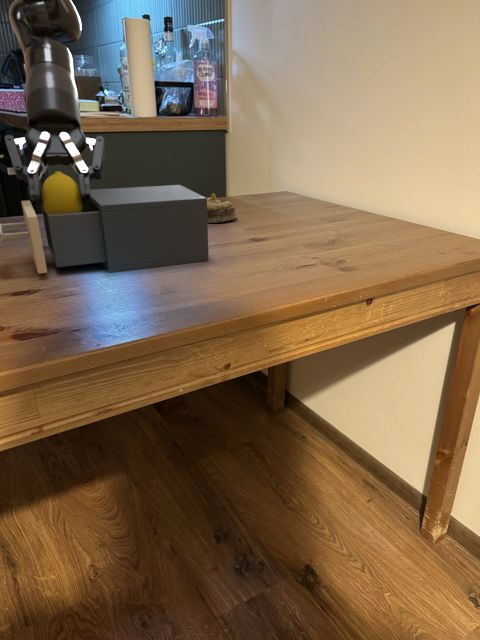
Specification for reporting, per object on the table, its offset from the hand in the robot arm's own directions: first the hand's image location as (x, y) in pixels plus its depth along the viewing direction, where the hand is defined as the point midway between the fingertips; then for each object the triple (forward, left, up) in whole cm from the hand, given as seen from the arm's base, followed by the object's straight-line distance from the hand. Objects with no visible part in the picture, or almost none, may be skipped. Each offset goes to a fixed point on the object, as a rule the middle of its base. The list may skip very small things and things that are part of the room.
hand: (61, 200), depth 71 cm
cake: (+32, +23, -10) cm, 41 cm away
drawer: (0, +2, -9) cm, 9 cm away
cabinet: (+12, +2, -10) cm, 16 cm away
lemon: (0, +2, -4) cm, 5 cm away
